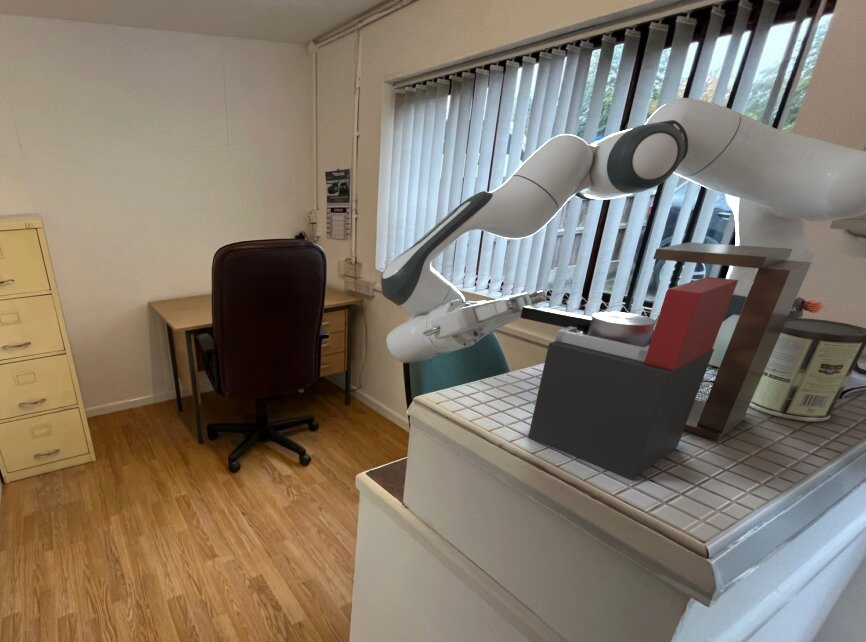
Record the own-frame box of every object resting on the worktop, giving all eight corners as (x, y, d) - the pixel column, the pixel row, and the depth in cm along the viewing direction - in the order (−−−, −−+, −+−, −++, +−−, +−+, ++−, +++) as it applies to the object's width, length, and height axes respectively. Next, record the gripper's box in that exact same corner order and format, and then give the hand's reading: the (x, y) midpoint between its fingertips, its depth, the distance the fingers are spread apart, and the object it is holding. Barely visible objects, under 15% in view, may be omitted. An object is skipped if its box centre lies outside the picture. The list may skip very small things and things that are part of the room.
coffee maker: (527, 436, 70) (563, 277, 60) (575, 412, 77) (614, 265, 67) (632, 480, 59) (696, 294, 49) (676, 447, 66) (741, 279, 56)
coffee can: (773, 392, 82) (809, 315, 76) (847, 418, 72) (894, 332, 67) (724, 398, 80) (757, 319, 74) (794, 425, 71) (837, 338, 65)
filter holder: (509, 326, 71) (513, 303, 70) (534, 318, 75) (539, 297, 74) (633, 354, 58) (641, 328, 57) (657, 344, 62) (665, 319, 60)
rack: (608, 406, 78) (655, 248, 68) (640, 389, 84) (688, 242, 74) (717, 440, 67) (793, 258, 57) (744, 418, 73) (818, 250, 63)
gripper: (411, 318, 79) (479, 288, 67) (484, 301, 89) (554, 273, 77) (422, 353, 79) (492, 330, 66) (494, 332, 89) (566, 309, 77)
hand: (526, 299), depth 72 cm, fingers open, 8 cm apart
